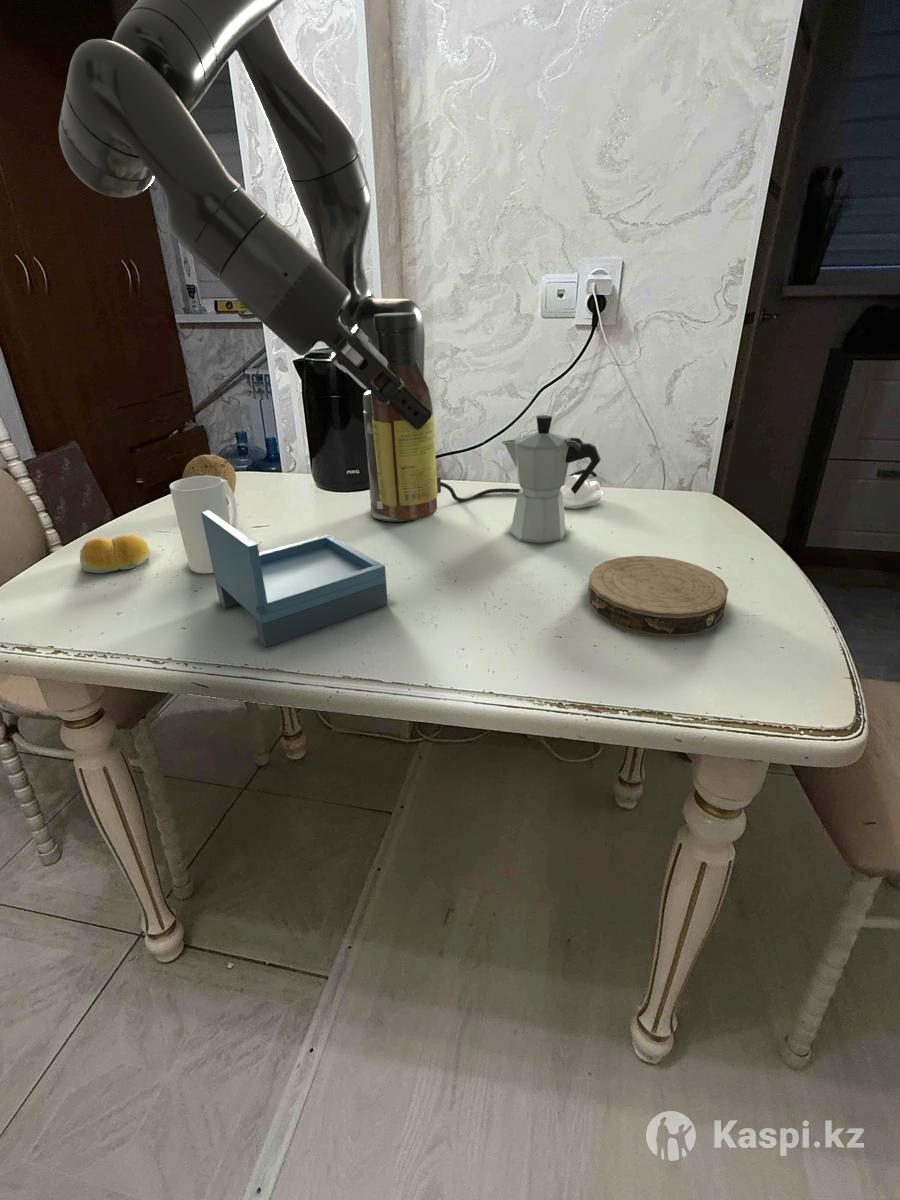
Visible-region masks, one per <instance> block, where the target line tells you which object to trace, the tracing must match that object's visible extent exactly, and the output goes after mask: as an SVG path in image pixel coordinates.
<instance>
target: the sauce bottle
mask: <svg viewBox="0 0 900 1200" xmlns="http://www.w3.org/2000/svg"><path fill="white" fill-rule="evenodd" d="M416 328H417V321H416V314H415V313H405V312H404V313H382V314H376V315H374V329H375V331H376V333H377V340H378V351H379V352H380V353H381V354H382V355H383V356H384V357H385V358H386V359H387V360H388V361H389V362H390V365H391V367H390V370H391V372H392V373H393V374H394V375H395V376H398V377H399V378H401V379H402V380H403V381H404V382H403V384H404V385H405V387H406V388H407V389H408V390H409V391H410V392H411V393H412V394H413V395H414V396H415V397H416V398H417V399H419V400H420V401H421V402H422V403H423V404H424V405H425V406H426V407H427V408H428V409H429V410H430V411H431V418H430V419H429V420H428V421H427V422H426V423H425V424H424V426H423V427H422V428H421V429H415V428H414V427H413V426H412V425H411V424H410V423H409V422H408V421H406V420H405V419H404V418H403V417H402V416H401V415H400V414H399V413H398V412H397V411H396V410H395V409H394V408H393V407H392V406H390V404H389V405H387V404H386V403H385V404H384V403H383V402H380V401H379V400H378V399H377V398H378V397H377V396H376V395H375V394H373V393H372V392H371V401H372V412H373V417H372V422H373V432H374V442H375V452H376V462H377V473H378V483H379V493H380V501H381V502H382V507H383V512H384V514H385V515H386V516H387V517H391V518H395V519H398V520H409V521H417V520H423V519H425V518H429V517H431V516H433V515H434V514H435V513H436V511H437V510H438V500H437V499H438V495H439V493H438V491H437V476H438V475H437V460H436V459H437V457H436V442H435V441H436V439H435V424H434V408H433V403H432V398H431V393H430V388H429V386H428V384H427V382H426V380H425V377H424V378H423V375H422V373H421V371H420V368H419V365H418V361H417V360H418V356H417V353H416V335H415V331H416ZM388 379H389V377H388V376H387V375H386V374H384V375H383V376H382V377H381V379H380V380H379V381H378V382H377V384H376V386H377V387H378V388H379V389H380V388H381V387H382V386H383V385H384V384H385V382H386V381H387V380H388Z"/></svg>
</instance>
